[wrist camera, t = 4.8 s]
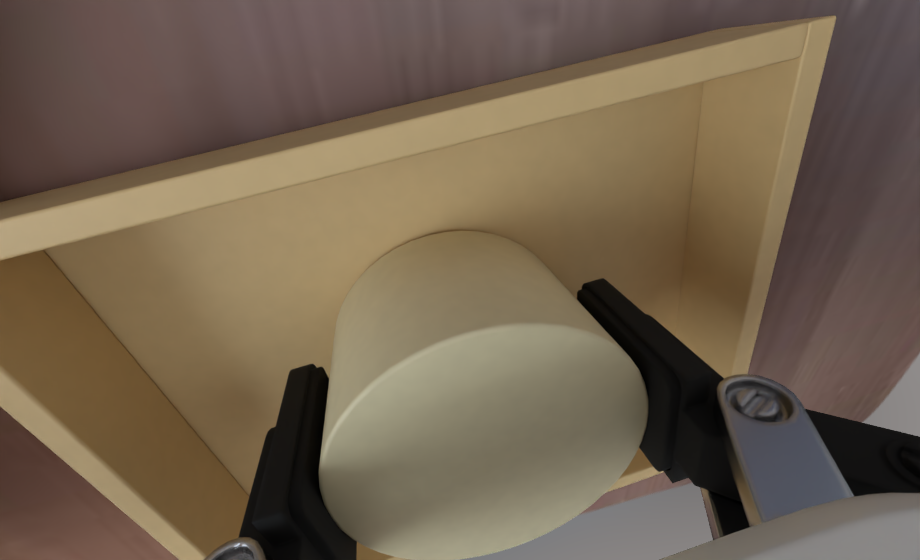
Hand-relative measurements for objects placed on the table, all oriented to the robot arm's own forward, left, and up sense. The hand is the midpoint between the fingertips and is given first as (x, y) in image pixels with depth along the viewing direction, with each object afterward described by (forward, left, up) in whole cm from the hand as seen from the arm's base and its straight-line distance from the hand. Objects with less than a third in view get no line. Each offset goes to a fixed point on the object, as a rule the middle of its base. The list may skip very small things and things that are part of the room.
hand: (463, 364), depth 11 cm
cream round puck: (0, 0, -1) cm, 1 cm away
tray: (0, 0, -2) cm, 2 cm away
